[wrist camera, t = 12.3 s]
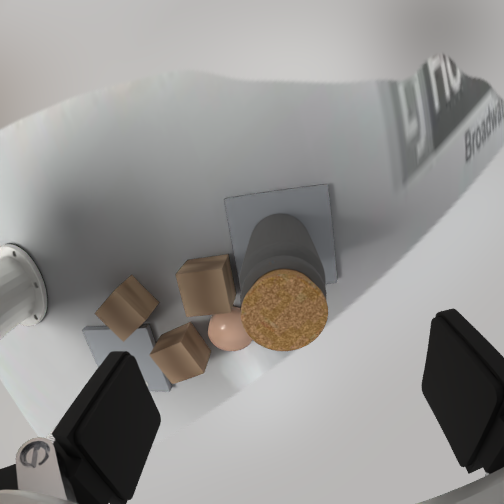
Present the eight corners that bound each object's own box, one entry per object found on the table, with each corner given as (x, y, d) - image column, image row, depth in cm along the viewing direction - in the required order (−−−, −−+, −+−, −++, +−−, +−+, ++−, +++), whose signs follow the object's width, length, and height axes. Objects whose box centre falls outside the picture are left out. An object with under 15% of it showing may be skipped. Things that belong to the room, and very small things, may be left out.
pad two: (111, 384, 40) (108, 389, 39) (85, 326, 37) (81, 330, 36) (171, 386, 38) (169, 392, 37) (149, 323, 36) (146, 328, 35)
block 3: (181, 362, 37) (172, 384, 33) (161, 334, 36) (149, 355, 32) (211, 350, 36) (204, 373, 32) (190, 321, 35) (180, 341, 31)
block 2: (196, 297, 34) (186, 317, 30) (187, 259, 33) (175, 274, 29) (236, 293, 34) (231, 312, 30) (228, 253, 33) (221, 268, 28)
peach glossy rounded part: (215, 301, 34) (214, 308, 32) (259, 313, 34) (260, 320, 33) (204, 336, 35) (203, 344, 34) (245, 347, 36) (245, 355, 35)
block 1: (138, 322, 36) (123, 341, 32) (112, 296, 35) (94, 313, 31) (159, 301, 35) (145, 320, 31) (131, 274, 34) (114, 289, 30)
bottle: (320, 251, 31) (355, 329, 16) (270, 280, 32) (266, 374, 18) (290, 201, 30) (305, 242, 15) (238, 233, 31) (208, 298, 16)
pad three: (242, 291, 34) (241, 295, 33) (225, 198, 31) (224, 199, 30) (335, 278, 33) (337, 282, 32) (326, 183, 30) (327, 185, 29)
